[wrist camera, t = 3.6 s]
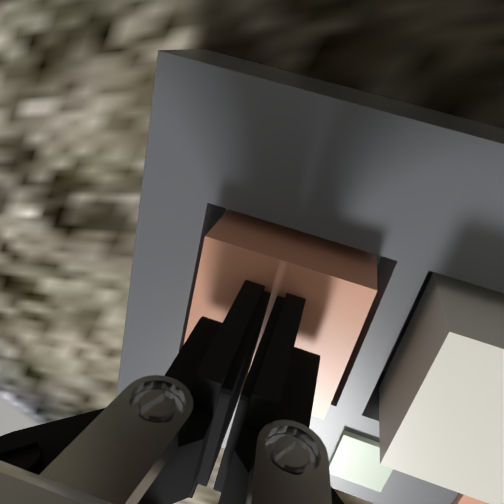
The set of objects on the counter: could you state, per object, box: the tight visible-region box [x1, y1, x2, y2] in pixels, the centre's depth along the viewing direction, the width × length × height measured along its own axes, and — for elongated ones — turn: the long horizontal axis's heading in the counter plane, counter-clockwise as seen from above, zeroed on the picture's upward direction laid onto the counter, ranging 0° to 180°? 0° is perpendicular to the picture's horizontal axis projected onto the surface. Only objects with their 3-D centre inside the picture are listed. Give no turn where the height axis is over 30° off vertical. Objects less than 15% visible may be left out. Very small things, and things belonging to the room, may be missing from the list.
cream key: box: [379, 272, 504, 504], centre depth 12 cm, size 4×4×3 cm
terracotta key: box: [183, 209, 377, 420], centre depth 14 cm, size 4×4×3 cm
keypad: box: [116, 49, 504, 504], centre depth 14 cm, size 21×12×4 cm, turn 77°
